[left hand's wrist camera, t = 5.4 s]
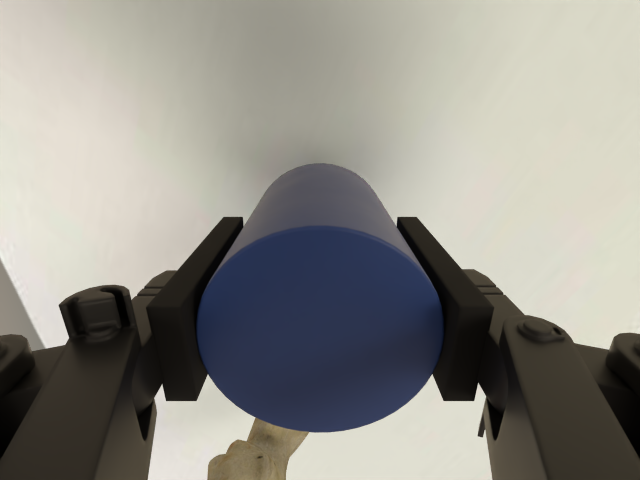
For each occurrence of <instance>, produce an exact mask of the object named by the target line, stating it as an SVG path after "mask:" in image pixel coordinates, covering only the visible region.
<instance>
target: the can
mask: <svg viewBox="0 0 640 480" xmlns="http://www.w3.org/2000/svg"><path fill="white" fill-rule="evenodd" d="M196 339H197V344H198V350H199V354H200V357H201V359H202V362H203V365H204V367H205V369H206V371H207V373H208V375H209V376H210V378H211V379H212V381H213V382H214V383H215V385H216V386H217V388H218V389H219V390H220V391H221V392H222V393H223V394H224V395H225V396H226V397H227V398H228V399H229V400H230V401H232V402H233V403H234V404H235V405H236V406H238V407H239V408H241V409H242V410H244V411H245V412H247V413H248V414H250V415H252V416H254V417H256V418H258V419H260V420H262V421H265V422H267V423H270V424H272V425H275V426H279V427H282V428H286V429H291V430H296V431H304V432H336V431H344V430H349V429H354V428H358V427H361V426H365V425H368V424H371V423H373V422H376V421H378V420H380V419H383V418H385V417H386V416H388V415H390V414H392V413H394V412H395V411H397V410H398V409H400V408H401V407H402V406H404V405H405V404H407V403H408V402H409V401H410V400H411V399H412V398H413V397H414V396H415V395H417V393H418V392H419V391H420V390H421V389H422V388H423V386H424V385H425V384H426V383H427V381H428V379H429V378H430V376H431V375H432V373H433V371H434V369H435V367H436V365H437V363H438V361H439V357H440V354H441V351H442V346H443V339H444V317H443V311H442V306H441V303H440V300H439V297H438V294H437V292H436V290H435V288H434V286H433V285H432V283H431V281H430V279H429V277H428V276H427V274H426V273H425V271H424V270H423V268H422V266H421V265H420V263H419V262H418V260H417V258H416V257H415V255H414V254H413V252H412V251H411V249H410V247H409V246H408V244H407V243H406V241H405V239H404V238H403V236H402V235H401V233H400V231H399V230H398V228H397V227H396V225H395V224H394V222H393V220H392V219H391V217H390V216H389V214H388V212H387V211H386V209H385V208H384V206H383V205H382V203H381V201H380V200H379V198H378V197H377V195H376V193H375V192H374V191H373V189H372V188H371V187H370V185H369V184H368V183H367V182H366V181H365V180H364V179H362V178H361V177H360V176H358V175H357V174H355V173H354V172H352V171H350V170H348V169H345V168H343V167H340V166H336V165H332V164H309V165H304V166H300V167H297V168H295V169H292V170H290V171H288V172H287V173H285V174H283V175H282V176H280V177H279V178H278V179H277V180H276V181H274V182H273V184H272V185H271V186H270V187H269V188H268V189H267V191H266V192H265V194H264V195H263V197H262V198H261V200H260V202H259V203H258V205H257V206H256V208H255V210H254V211H253V213H252V214H251V216H250V218H249V219H248V221H247V222H246V224H245V225H244V227H243V229H242V230H241V232H240V233H239V235H238V237H237V238H236V240H235V241H234V243H233V245H232V246H231V248H230V249H229V251H228V252H227V254H226V256H225V257H224V259H223V260H222V262H221V264H220V265H219V267H218V268H217V270H216V272H215V273H214V275H213V276H212V278H211V279H210V281H209V283H208V285H207V287H206V289H205V291H204V293H203V295H202V298H201V301H200V304H199V307H198V312H197V319H196Z"/></svg>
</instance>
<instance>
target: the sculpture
mask: <svg viewBox="0 0 640 480" xmlns="http://www.w3.org/2000/svg"><path fill="white" fill-rule="evenodd" d="M308 433H309V432H304V431H296V430H291V429H286V428H282V427H279V426H275V425H272V424H270V423H267V422H265V421H262V420H260V419H258V418H255V421H254V423H253V426H252V429H251V431H250V434H249V437H248V439H247V442H246V441H242V440H236V441H235V442H233V443H232V444H231V445H230V446H229V448H228V450H227V452H226V454H222V455H218V456H216V457H214V458H213V459H212V460H211V461H210V462H209V465H208V479H207V480H286V469H287V464H288V460H289V457H290V456H291V455H292V454H293V453H294V452H295V450H296V449H297V448H298V447H299V446H300V444H301V443H302V442H303V440H304V439H305V437H306V436H307V435H308Z"/></svg>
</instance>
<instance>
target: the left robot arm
mask: <svg viewBox="0 0 640 480" xmlns="http://www.w3.org/2000/svg"><path fill="white" fill-rule="evenodd" d="M397 228H398V230H399V231H400V233H401V235H402V236H403V238H404V239H405V241H406V243H407V244H408V246H409V247H410V249H411V251H412V252H413V254H414V255H415V257H416V258H417V260H418V262H419V263H420V265H421V266H422V268H423V270H424V271H425V273H426V274H427V276H428V277H429V279H430V281H431V283H432V285H433V286H434V288H435V290H436V292H437V294H438V297H439V300H440V303H441V306H442V311H443V317H444V339H443V346H442V351H441V354H440V357H439V361H438V363H437V365H436V367H435V369H434V371H433V373H432V374H433V376H434V379H435V381H436V384H437V386H438V388H439V391H440V393H441V396H442V398H443V400H444V401H474V399H475V395H476V390H477V385H478V383H479V384H480V386H481V388H482V390H483V391H484V393H485V395H486V400H485V404H484V408H483V413H482V417H481V421H480V426H479V431H478V436H479V437H483V434H484V430H485V429H486V436H487V443H488V450H489V458H490V465H491V472H492V479H493V480H640V334H636V333H621V334H618V335H617V336H615V337H614V338H613V341H612V344H611V346H610V349H609V350H607V349H601V348H596V347H591V346H585V345H580V344H576V343H574V342H573V340H572V339H571V337H570V336H569V335H568V334H567V333H566V332H565V330H563V329H562V328H560V327H559V326H557V325H555V324H554V323H551V322H549V321H547V320H544V319H542V318H537V317H533V316H529V315H524V314H523V313H522V312H521V311H520V310H519V309H518V308H517V307H516V306H515V304H514V303H513V302H512V301H511V300H510V299H509V298H508V297H507V296H506V295H503V292H502V291H501V290H500V289H499V288H498V287H496V285H495V284H494V283H493V282H492V281H491V280H490V279H489V278H488V277H487V276H485V275H483V274H481V273H479V272H478V271H476V270H474V269H461V268H460V267H459V266H458V264H457V263H456V262H455V261H454V260H453V259H452V257H451V256H450V255H449V254H448V253H447V252H446V251H445V249H444V248H443V247H442V246H441V245H440V244H439V242H438V241H437V240H436V239H435V238H434V237H433V235H432V234H431V233H430V232H429V231H428V230H427V229H426V227H425V226H424V225H423V224H422V223H421V222H420V220H419V219H418V218H417V217H398V218H397ZM242 229H243V217H223V218H222V220H221V221H220V222H219V223H218V224H217V225H216V226H215V228H214V229H213V230H212V231H211V232H210V233H209V235H208V236H207V237H206V238H205V239H204V240H203V242H202V243H201V244H200V245H199V246H198V247H197V249H196V250H195V251H194V252H193V253H192V254H191V255H190V257H189V258H188V259H187V260H186V261H185V262H184V264H183V265H182V266H181V267H180V268H179V269H178V271H165V272H163V273H161V274H159V275H158V276H156V277H154V278H153V279H152V280H151V281H150V282H149V283H148V284H147V285H146V286H145V287H144V289H142V290H141V291H140V292H139V293H138V294H137V296H135V297H134V298H133V299H132V300H131V297H130V292H129V290H128V289H127V288H125V287H124V286H119V285H103V286H98V287H93V288H89V289H86V290H83V291H80V292H77V293H75V294H73V295H71V296H70V297H68V298H66V299H65V300H64V301H63V302H61V303H60V304H59V308H60V311H61V314H62V317H63V320H64V323H65V326H66V329H67V332H68V335H69V339H68V341H67V343H66V345H63V346H58V347H53V348H47V349H42V350H37V351H31V348H30V345H29V343H28V340H27V339H26V338H25V337H23V336H22V335H13V334H10V335H3V336H0V480H148V473H149V466H150V459H151V451H152V444H153V437H154V430H155V423H156V416H157V410H156V404H155V400H154V397H155V395H156V394H157V392H158V390H159V388H160V387H161V385H162V384H163V389H164V393H165V398H166V401H197V398H198V396H199V394H200V391H201V389H202V387H203V384H204V382H205V379H206V377H207V375H208V373H207V371H206V369H205V367H204V365H203V362H202V359H201V357H200V354H199V350H198V344H197V339H196V319H197V312H198V307H199V304H200V301H201V298H202V295H203V293H204V291H205V289H206V287H207V285H208V283H209V281H210V279H211V278H212V276H213V275H214V273H215V272H216V270H217V268H218V267H219V265H220V264H221V262H222V260H223V259H224V257H225V256H226V254H227V252H228V251H229V249H230V248H231V246H232V245H233V243H234V241H235V240H236V238H237V237H238V235H239V233H240V232H241V230H242Z"/></svg>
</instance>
